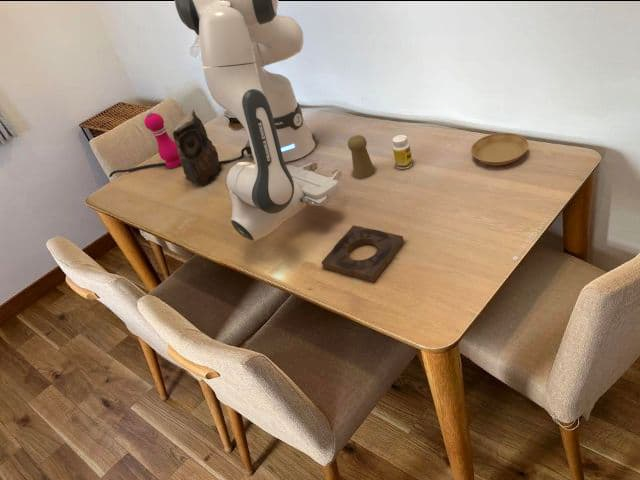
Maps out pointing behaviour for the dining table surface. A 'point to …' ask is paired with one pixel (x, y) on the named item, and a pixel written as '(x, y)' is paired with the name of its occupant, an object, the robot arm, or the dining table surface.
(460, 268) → the dining table surface
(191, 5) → the robot arm
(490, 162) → the plant saucer
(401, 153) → the supplement bottle
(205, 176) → the owl
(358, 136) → the pepper shaker
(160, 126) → the pepper mill
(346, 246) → the holder
